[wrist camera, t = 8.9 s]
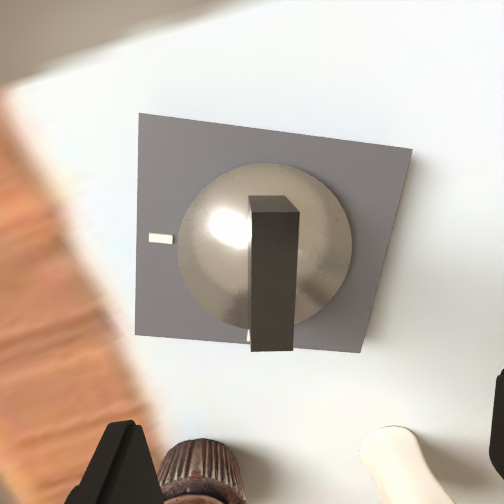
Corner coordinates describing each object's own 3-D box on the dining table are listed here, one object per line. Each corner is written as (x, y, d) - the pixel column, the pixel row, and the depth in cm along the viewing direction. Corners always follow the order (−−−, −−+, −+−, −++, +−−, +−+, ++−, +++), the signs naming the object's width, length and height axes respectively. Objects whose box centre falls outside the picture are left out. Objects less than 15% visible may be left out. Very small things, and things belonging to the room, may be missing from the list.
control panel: (392, 148, 25) (414, 149, 22) (348, 333, 30) (361, 354, 27) (150, 116, 24) (137, 112, 21) (144, 315, 29) (134, 336, 26)
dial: (173, 162, 22) (149, 170, 16) (355, 163, 22) (400, 171, 16) (184, 325, 26) (167, 383, 19) (339, 322, 26) (371, 378, 20)
